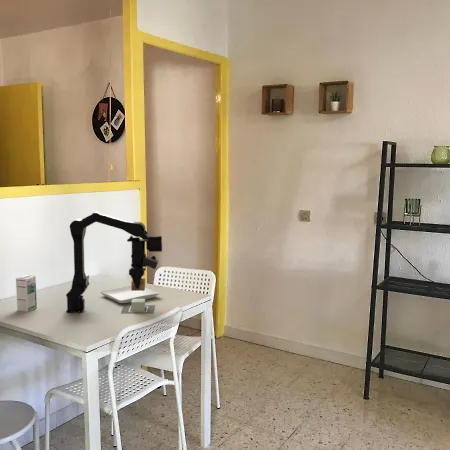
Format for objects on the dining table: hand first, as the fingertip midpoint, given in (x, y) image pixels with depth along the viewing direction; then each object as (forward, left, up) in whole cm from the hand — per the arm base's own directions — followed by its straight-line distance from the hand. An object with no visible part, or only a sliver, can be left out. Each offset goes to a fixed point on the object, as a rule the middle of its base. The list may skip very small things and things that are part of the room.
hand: (138, 286), depth 211 cm
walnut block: (0, 0, -1) cm, 1 cm away
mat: (0, 0, -10) cm, 11 cm away
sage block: (0, 0, -10) cm, 10 cm away
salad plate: (-6, +20, -11) cm, 24 cm away
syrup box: (-48, +2, -11) cm, 49 cm away
